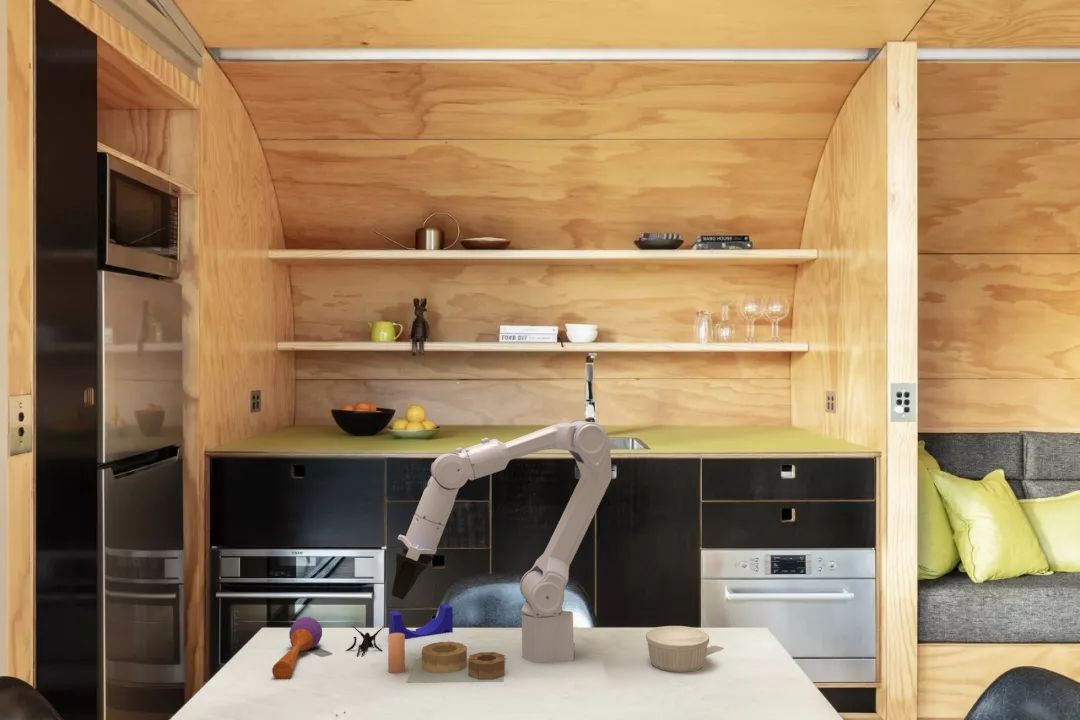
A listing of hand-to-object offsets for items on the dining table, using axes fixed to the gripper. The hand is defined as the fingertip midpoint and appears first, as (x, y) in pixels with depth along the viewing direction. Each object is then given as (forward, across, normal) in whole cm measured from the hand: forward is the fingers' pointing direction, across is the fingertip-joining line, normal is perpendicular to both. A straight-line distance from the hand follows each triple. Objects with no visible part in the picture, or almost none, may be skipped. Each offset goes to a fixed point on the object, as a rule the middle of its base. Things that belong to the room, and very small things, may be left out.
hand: (400, 593), depth 152 cm
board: (+9, +1, +14) cm, 17 cm away
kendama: (+20, -9, -13) cm, 26 cm away
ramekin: (-5, -4, +50) cm, 51 cm away
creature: (+15, -10, -2) cm, 18 cm away
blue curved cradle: (+11, -21, +6) cm, 24 cm away
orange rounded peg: (+13, +1, +5) cm, 14 cm away
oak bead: (+9, -1, +12) cm, 15 cm away
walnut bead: (+6, +3, +19) cm, 20 cm away
